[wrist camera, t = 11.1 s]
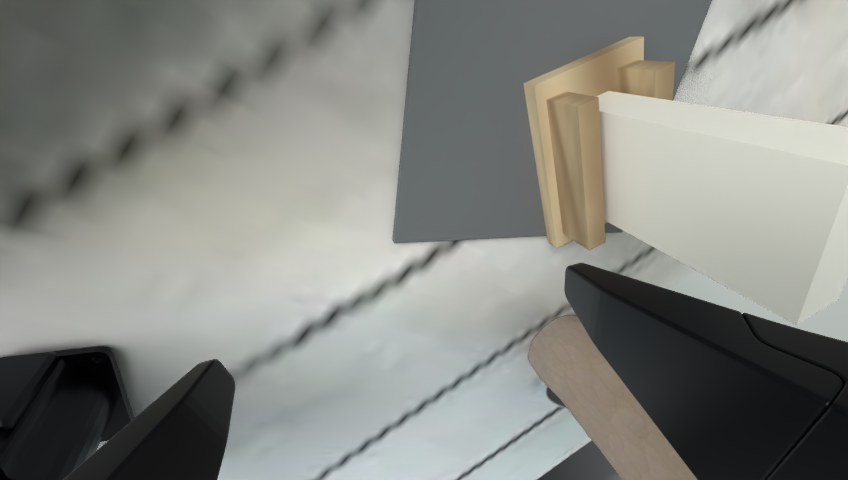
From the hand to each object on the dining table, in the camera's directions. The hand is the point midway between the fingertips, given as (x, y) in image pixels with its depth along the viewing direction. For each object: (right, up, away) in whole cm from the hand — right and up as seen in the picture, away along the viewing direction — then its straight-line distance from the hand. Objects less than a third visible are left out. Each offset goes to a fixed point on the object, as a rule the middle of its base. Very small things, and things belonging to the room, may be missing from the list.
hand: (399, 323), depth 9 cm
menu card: (+11, +7, +13) cm, 19 cm away
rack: (+11, +8, +14) cm, 19 cm away
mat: (+8, +11, +12) cm, 18 cm away
